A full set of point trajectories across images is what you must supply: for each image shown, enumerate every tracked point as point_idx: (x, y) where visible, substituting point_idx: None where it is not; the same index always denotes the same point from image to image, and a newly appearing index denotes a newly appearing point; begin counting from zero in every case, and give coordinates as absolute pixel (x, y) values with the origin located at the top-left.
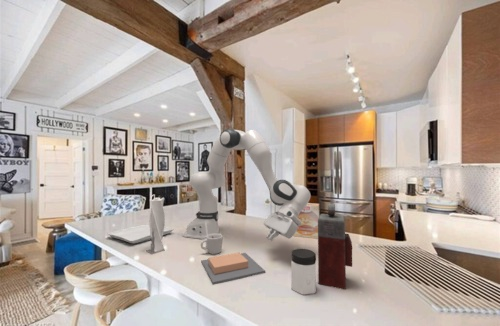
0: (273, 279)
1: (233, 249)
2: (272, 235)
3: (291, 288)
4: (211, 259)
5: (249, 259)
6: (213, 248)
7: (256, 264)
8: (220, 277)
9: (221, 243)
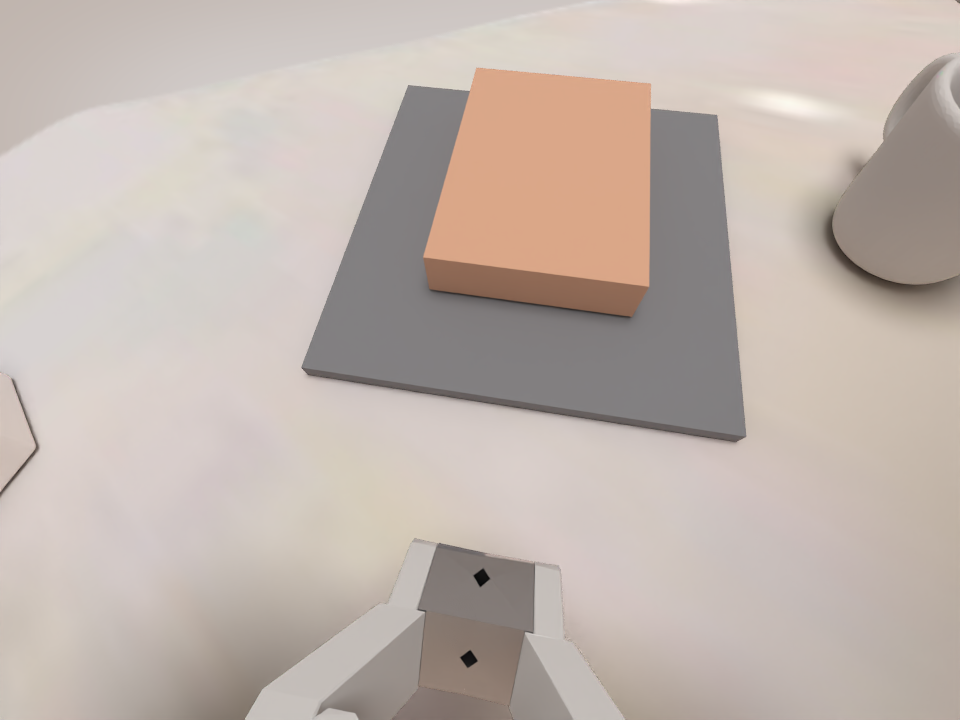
0: (193, 363)
1: (920, 408)
2: (364, 624)
3: (8, 376)
4: (609, 88)
5: (565, 380)
6: (860, 173)
7: (438, 374)
8: (429, 122)
9: (927, 217)
